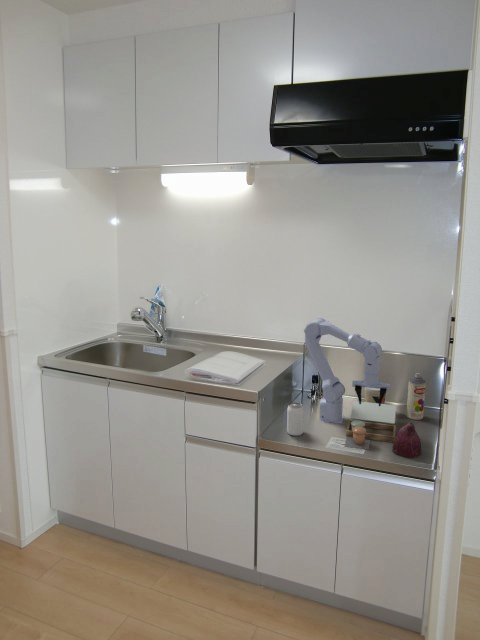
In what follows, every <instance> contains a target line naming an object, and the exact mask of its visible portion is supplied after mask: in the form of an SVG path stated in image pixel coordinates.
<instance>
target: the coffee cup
mask: <svg viewBox="0 0 480 640" xmlns="http://www.w3.org/2000/svg"><path fill="white" fill-rule="evenodd" d="M363 388H364V402H369V403H378V404H379V399H380V389H378V388H368V387H363ZM385 401H386V394H385V395H384V397H383V399H382V402H381V404H386V403H385Z"/></svg>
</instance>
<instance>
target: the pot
mask: <svg viewBox="0 0 480 640" xmlns="http://www.w3.org/2000/svg"><path fill="white" fill-rule="evenodd" d="M352 432H353V437H352V438H353V443H354V444H355V445H364V444H365V433H366V429H365V428H364V427H359V426H357V427H353V428H352Z"/></svg>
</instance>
